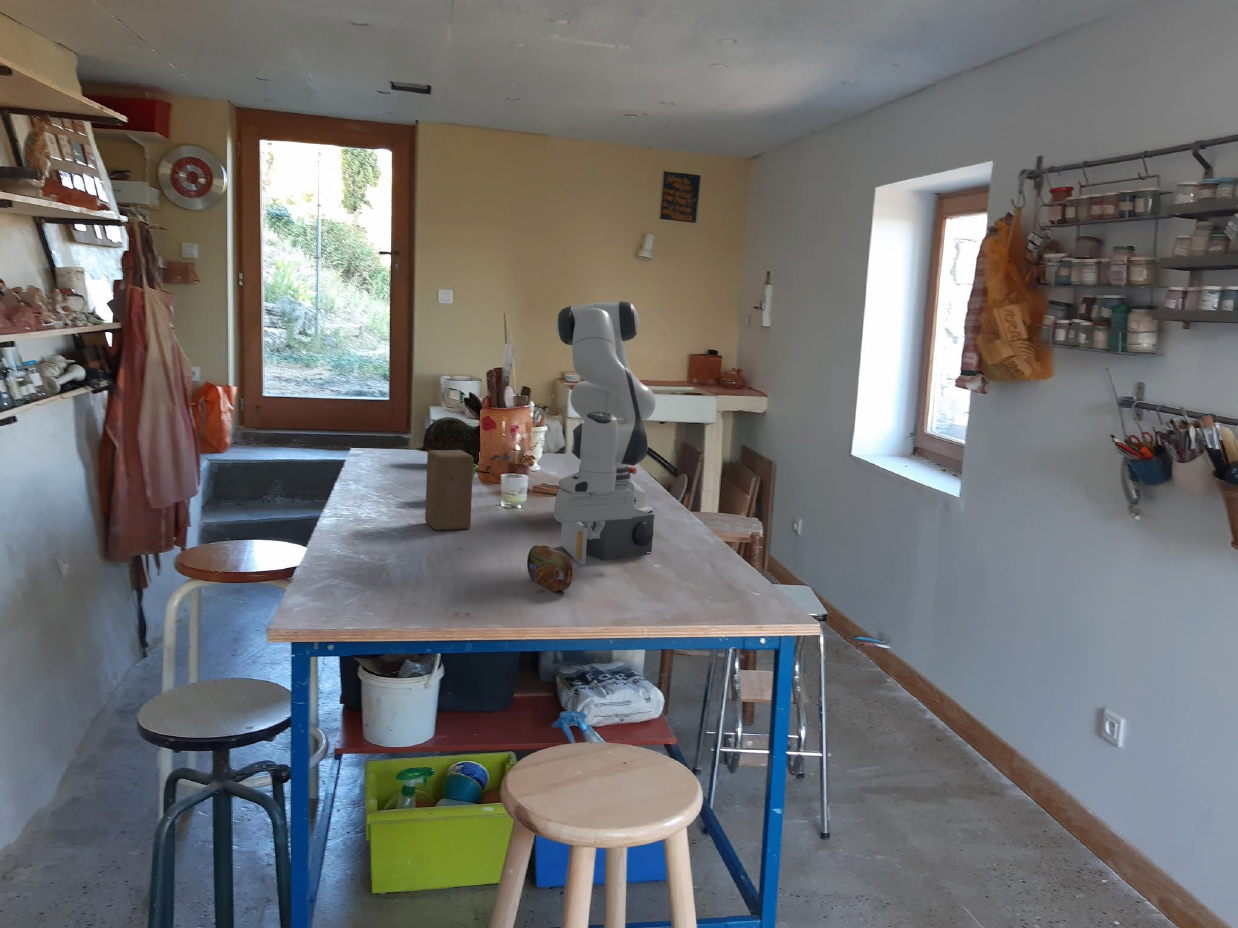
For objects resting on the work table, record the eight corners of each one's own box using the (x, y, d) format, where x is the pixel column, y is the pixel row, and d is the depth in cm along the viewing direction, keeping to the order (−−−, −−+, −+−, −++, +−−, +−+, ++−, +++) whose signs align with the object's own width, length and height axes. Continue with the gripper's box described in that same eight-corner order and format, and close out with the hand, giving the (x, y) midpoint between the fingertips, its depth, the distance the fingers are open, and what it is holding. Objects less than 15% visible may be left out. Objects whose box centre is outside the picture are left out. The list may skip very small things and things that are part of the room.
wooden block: (434, 531, 247) (437, 456, 244) (424, 522, 256) (426, 449, 253) (471, 529, 252) (474, 455, 249) (459, 521, 261) (462, 449, 257)
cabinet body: (610, 538, 253) (613, 501, 251) (654, 553, 240) (657, 515, 239) (563, 545, 242) (565, 507, 241) (606, 561, 230) (609, 521, 228)
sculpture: (473, 477, 323) (477, 397, 319) (412, 465, 339) (415, 388, 334) (509, 471, 339) (513, 395, 335) (449, 459, 355) (452, 386, 350)
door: (564, 544, 241) (566, 510, 240) (585, 565, 224) (587, 527, 222) (558, 544, 241) (560, 510, 239) (578, 565, 223) (581, 528, 222)
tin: (525, 577, 213) (527, 541, 211) (537, 576, 214) (539, 539, 213) (561, 596, 201) (563, 558, 199) (573, 594, 203) (576, 556, 201)
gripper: (628, 477, 231) (624, 532, 233) (552, 480, 221) (549, 538, 223) (641, 482, 226) (637, 539, 228) (564, 485, 215) (561, 544, 218)
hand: (593, 538), depth 225 cm, fingers closed
